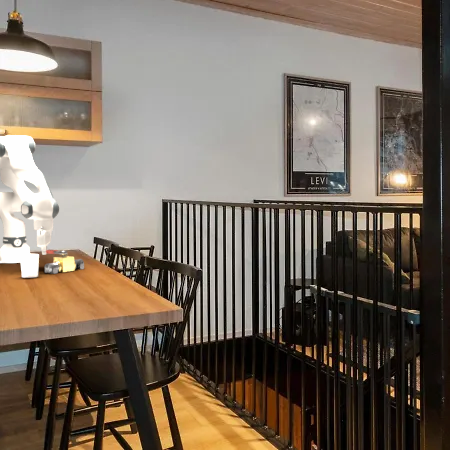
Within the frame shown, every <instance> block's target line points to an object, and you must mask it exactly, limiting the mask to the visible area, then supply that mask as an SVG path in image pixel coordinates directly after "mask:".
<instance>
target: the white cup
mask: <svg viewBox="0 0 450 450" xmlns="http://www.w3.org/2000/svg"><path fill="white" fill-rule="evenodd" d="M39 258H40V254H38V253H30V254H23V255H20V270H21V278H24V279H25V278H26V279H29V278H37V277H39V264H40V263H39V261H40V260H39Z"/></svg>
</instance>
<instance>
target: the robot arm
mask: <svg viewBox="0 0 450 450" xmlns="http://www.w3.org/2000/svg"><path fill="white" fill-rule="evenodd" d="M34 140H35V139H33V137H32V136H29V135H16V134H15V135H5V136H0V182H1V183H2V184H3V185H5V187H8V188H10V189H11V190H12V191H7V192H6V191H1V192H0V220H1V222H2V229H3V237H2V243H3V244H2V245H1V248H0V264H17V263H18V264H21V262H20V255H23V254H31V251H30V245H28V243H27V240H28V239H27V236H26V223H25V221H24V220H22V219H21V218H19V217H17V216H16V215H15V213H17V212H19V213H20V212H21V215H22V216H23V217H24V218H25V219H28V220H33V231H36V246H37V248H41V254H42V256H43V255H47V254H48V253H47V250H48V245H49V244H51V242H52V234H53V233H52V231H53V230H54V219H55V218H56V217H58V216H57V215H58V214H59V213H60V207H59V203H58V202H57V200H56V199H55V197H54V195H53V193H52V190H51V189H50V185H49V183H48V182H47V179H46V176H45V175H44V173H43V172H42V171H41V170H40V169H38V167H37V166H36V164H35V162H34V159H33V154H34V153H35V151H36V143H35V141H34ZM24 181H26V182H28V183H31V184H33V185H34V186H35V187H36V188H37V191H38V192H36V193H34V192H33V191H31V190H30V189H29V187H27V185H26V184H25V182H24Z"/></svg>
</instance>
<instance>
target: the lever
mask: <svg viewBox="0 0 450 450" xmlns="http://www.w3.org/2000/svg"><path fill="white" fill-rule="evenodd" d="M47 254H50V255H55V254H56V255H61V256H62V255H66V256H68V251H67V250H57V249H47Z"/></svg>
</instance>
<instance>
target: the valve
mask: <svg viewBox="0 0 450 450" xmlns="http://www.w3.org/2000/svg"><path fill="white" fill-rule="evenodd" d="M52 258H53V262H50V263H46V264H44V273H45V274H49V275H57V274H60V273H68V272H73V271H74V272H75V271H76V270H84V269H85V262H84V259H82V258H78V259H75V256H69V255H61V256H54V257H52Z"/></svg>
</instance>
